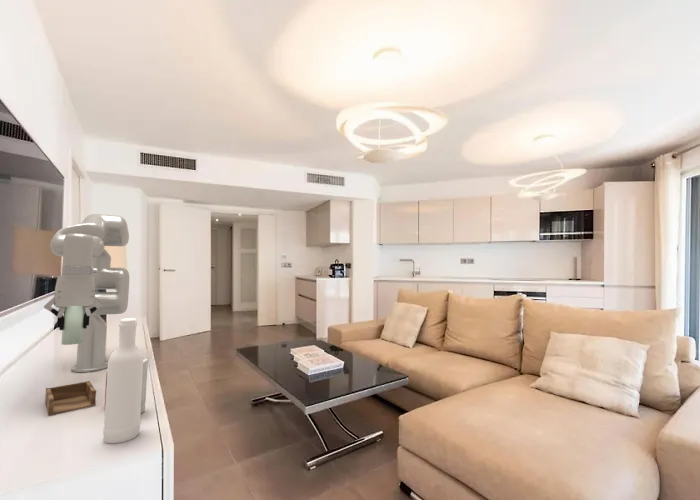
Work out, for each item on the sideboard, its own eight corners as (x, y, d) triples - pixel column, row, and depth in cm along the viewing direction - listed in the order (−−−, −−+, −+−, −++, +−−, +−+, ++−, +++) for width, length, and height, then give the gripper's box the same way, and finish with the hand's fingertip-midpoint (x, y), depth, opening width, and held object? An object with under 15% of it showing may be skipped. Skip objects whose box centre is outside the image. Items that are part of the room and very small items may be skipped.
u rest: (44, 403, 108) (45, 388, 108) (88, 394, 115) (89, 381, 116) (48, 416, 99) (49, 399, 99) (95, 405, 107) (96, 390, 107)
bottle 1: (60, 342, 110) (64, 289, 111) (81, 340, 113) (84, 289, 115) (62, 345, 106) (66, 290, 107) (83, 343, 110) (87, 289, 111)
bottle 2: (121, 445, 84) (128, 322, 86) (94, 441, 86) (102, 320, 87) (146, 430, 92) (153, 317, 94) (122, 427, 94) (128, 316, 95)
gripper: (106, 272, 120) (103, 325, 119) (40, 271, 108) (36, 330, 107) (110, 272, 115) (107, 327, 113) (42, 271, 103) (37, 333, 101)
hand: (73, 328), depth 110 cm, fingers closed on bottle 1, 5 cm apart
